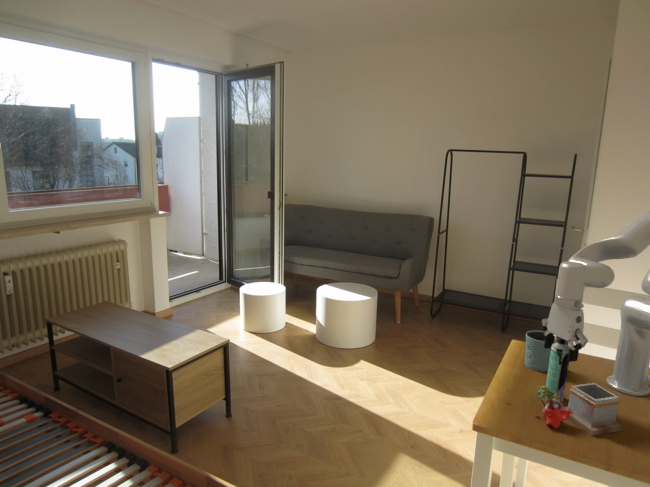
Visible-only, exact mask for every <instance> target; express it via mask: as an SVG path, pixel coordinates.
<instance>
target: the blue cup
mask: <svg viewBox="0 0 650 487" xmlns="http://www.w3.org/2000/svg"><path fill="white" fill-rule="evenodd" d="M553 336H555V335H553ZM557 340H558V339H557V336H555V339H554V343H557ZM544 343H545V335H544V330H529V331H527V332H525V350H524V351H525V353H524V355H525V356H524V365H525V367H527V368H528V369H530V370H532V371H537V372H548V367H549V360H550V353H551V348H544Z"/></svg>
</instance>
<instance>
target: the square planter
mask: <svg viewBox="0 0 650 487" xmlns="http://www.w3.org/2000/svg"><path fill="white" fill-rule="evenodd" d="M568 392H569V395H568V396H569V397H568V403H567V407H568V409H567V410H569V409H571V411H572V412H573V413H572V414H573V415H574V416H576V417H577V418H579V419H580V420H582V421H583V422H585V423H586V424H588V425H589V426H590V427H594V426H600V425H605V424H611V423H615V421H616V418H617V412H618V408H619V407H618V406H619V405H620V403H621V401H620V396H617V395H616V394H614V393H613V392H611V391H609V390H607V389H605V388H604V387H603V386H601V385H599V384H597V383H596V382H590V383H588V382H587V383H582V384H576V385H571V386H570V388H569V390H568Z"/></svg>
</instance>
